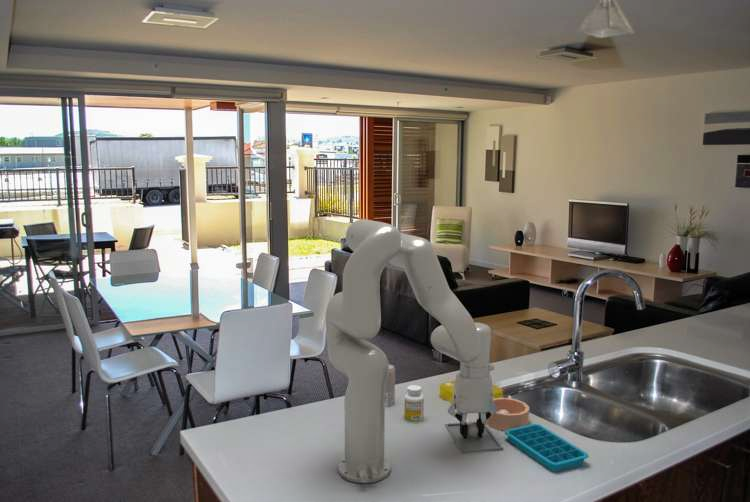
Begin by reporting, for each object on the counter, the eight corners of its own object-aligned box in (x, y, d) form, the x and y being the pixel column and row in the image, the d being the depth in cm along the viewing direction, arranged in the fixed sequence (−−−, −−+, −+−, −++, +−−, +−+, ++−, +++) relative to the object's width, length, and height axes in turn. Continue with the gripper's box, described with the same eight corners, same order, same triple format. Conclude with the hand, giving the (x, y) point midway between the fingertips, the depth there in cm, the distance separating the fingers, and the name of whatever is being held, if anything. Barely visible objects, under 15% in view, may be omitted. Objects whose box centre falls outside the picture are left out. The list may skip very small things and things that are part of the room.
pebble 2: (480, 439, 163) (480, 426, 163) (467, 439, 162) (467, 426, 162) (475, 433, 167) (476, 420, 166) (463, 433, 166) (463, 421, 165)
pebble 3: (512, 426, 171) (513, 412, 171) (498, 427, 171) (499, 413, 170) (507, 420, 175) (507, 406, 174) (493, 421, 174) (494, 407, 174)
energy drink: (385, 399, 191) (386, 362, 189) (398, 404, 187) (398, 366, 185) (373, 404, 187) (373, 366, 185) (386, 409, 184) (386, 370, 182)
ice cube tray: (536, 433, 169) (537, 423, 169) (590, 467, 151) (591, 455, 151) (501, 441, 164) (502, 430, 164) (553, 477, 146) (553, 465, 146)
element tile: (505, 403, 189) (506, 388, 189) (467, 414, 181) (468, 398, 181) (473, 387, 202) (473, 373, 201) (436, 397, 194) (437, 382, 193)
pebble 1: (474, 431, 168) (474, 420, 168) (463, 431, 168) (463, 421, 168) (470, 426, 171) (471, 416, 171) (460, 427, 171) (460, 417, 170)
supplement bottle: (411, 414, 180) (412, 382, 179) (426, 419, 177) (427, 387, 175) (400, 420, 176) (401, 387, 175) (416, 425, 173) (416, 392, 171)
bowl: (535, 430, 170) (535, 413, 169) (493, 433, 168) (494, 416, 167) (518, 412, 181) (519, 396, 181) (479, 415, 180) (479, 399, 179)
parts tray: (503, 451, 158) (503, 447, 158) (461, 454, 156) (461, 450, 156) (482, 424, 174) (482, 421, 173) (444, 427, 172) (444, 423, 172)
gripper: (499, 364, 167) (496, 428, 170) (440, 366, 164) (437, 431, 167) (509, 373, 159) (506, 440, 162) (447, 376, 157) (445, 444, 160)
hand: (471, 435), depth 164 cm, fingers closed on pebble 2, 3 cm apart
